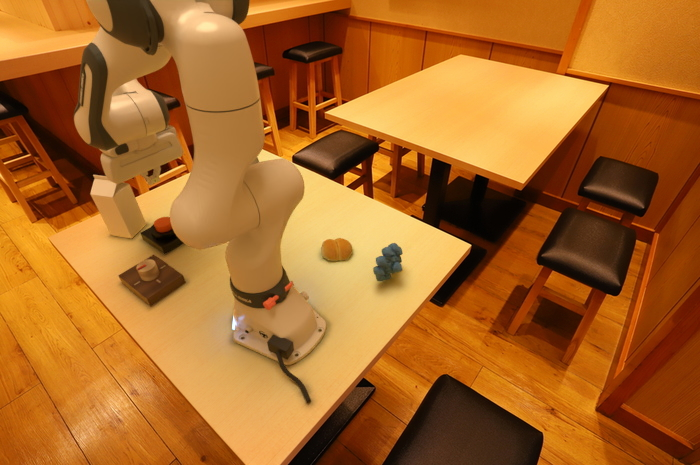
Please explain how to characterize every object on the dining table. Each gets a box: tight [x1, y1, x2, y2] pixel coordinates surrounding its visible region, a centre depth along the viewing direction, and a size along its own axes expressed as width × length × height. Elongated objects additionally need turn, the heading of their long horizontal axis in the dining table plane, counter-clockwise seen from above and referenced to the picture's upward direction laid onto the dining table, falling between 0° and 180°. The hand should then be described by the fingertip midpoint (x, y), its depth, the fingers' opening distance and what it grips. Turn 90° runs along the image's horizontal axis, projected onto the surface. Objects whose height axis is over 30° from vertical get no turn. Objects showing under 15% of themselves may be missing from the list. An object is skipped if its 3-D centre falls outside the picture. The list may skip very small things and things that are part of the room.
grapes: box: [372, 242, 403, 282], centre depth 96 cm, size 12×7×12 cm, turn 141°
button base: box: [140, 216, 184, 255], centre depth 110 cm, size 11×10×4 cm
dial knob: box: [136, 259, 160, 281], centre depth 95 cm, size 4×4×4 cm
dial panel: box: [117, 254, 186, 308], centre depth 97 cm, size 13×10×3 cm
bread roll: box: [320, 237, 353, 262], centre depth 107 cm, size 8×9×4 cm
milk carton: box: [89, 174, 147, 239], centre depth 108 cm, size 7×7×19 cm
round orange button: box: [153, 216, 172, 233], centre depth 109 cm, size 5×5×2 cm
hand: (154, 182), depth 103 cm, fingers closed
